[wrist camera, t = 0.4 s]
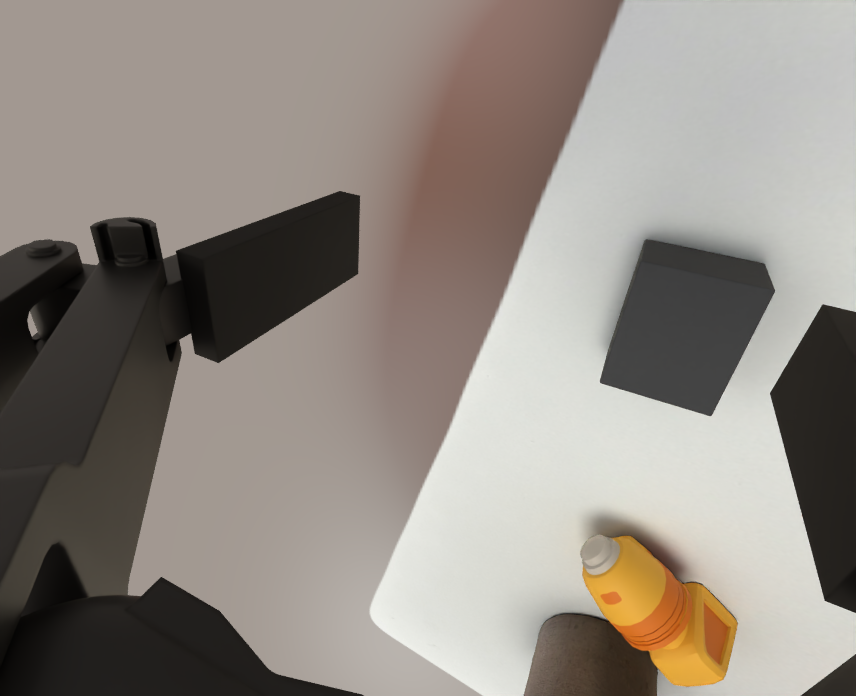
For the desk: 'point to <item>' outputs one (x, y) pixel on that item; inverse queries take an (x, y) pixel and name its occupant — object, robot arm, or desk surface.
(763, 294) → the dark grey rectangular block
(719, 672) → the yellow toy drill
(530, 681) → the pillar candle
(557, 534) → the desk surface
